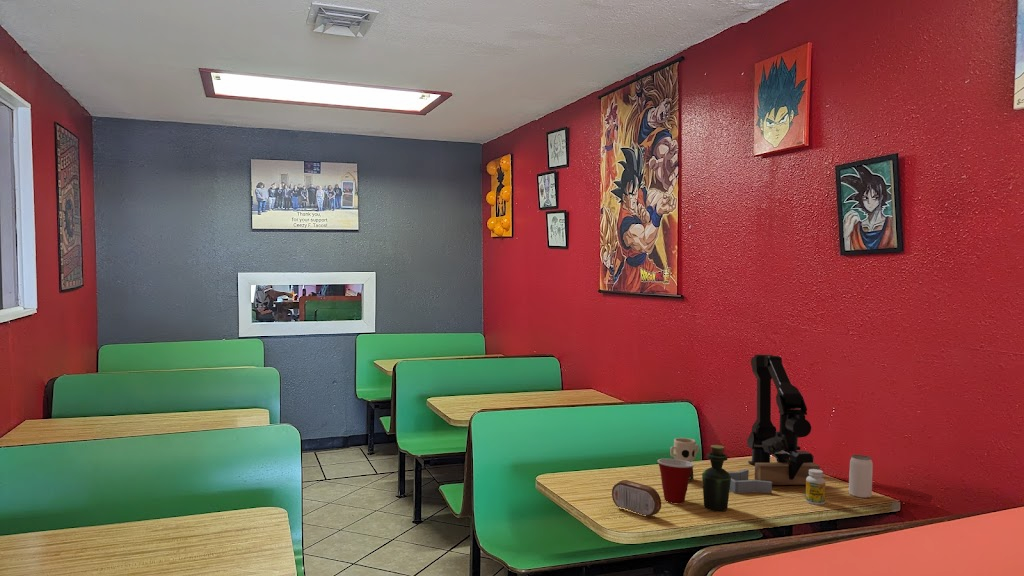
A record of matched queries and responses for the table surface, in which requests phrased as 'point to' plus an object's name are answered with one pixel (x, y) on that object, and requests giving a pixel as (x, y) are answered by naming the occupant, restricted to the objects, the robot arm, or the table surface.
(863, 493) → the can
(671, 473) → the plastic cup
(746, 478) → the grey stepped block
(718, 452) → the potion bottle
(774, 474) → the walnut slat
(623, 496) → the tin
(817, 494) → the supplement bottle
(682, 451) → the character mug
